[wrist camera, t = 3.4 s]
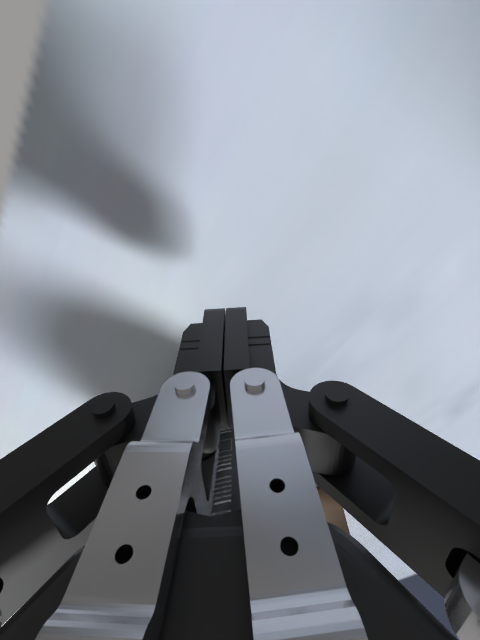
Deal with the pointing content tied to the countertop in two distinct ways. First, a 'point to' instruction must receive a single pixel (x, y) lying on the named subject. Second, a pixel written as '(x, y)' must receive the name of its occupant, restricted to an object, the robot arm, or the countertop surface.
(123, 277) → the countertop surface
